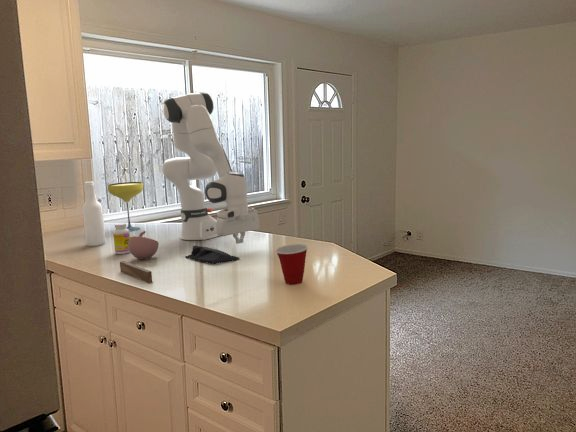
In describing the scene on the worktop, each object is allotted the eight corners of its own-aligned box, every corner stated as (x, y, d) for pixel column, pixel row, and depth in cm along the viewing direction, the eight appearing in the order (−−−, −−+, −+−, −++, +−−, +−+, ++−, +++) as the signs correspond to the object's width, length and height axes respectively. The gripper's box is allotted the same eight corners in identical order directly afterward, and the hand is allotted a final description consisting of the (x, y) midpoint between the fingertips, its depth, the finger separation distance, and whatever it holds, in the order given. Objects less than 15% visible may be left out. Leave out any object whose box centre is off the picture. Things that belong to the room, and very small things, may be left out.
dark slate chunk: (209, 268, 186) (208, 256, 185) (182, 258, 203) (181, 247, 202) (243, 260, 196) (242, 248, 195) (214, 251, 213) (214, 240, 212)
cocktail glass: (106, 230, 269) (101, 184, 264) (137, 225, 281) (133, 181, 276) (121, 234, 256) (116, 186, 251) (153, 228, 268) (148, 182, 263)
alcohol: (90, 247, 229) (82, 183, 224) (83, 244, 235) (76, 182, 230) (109, 244, 234) (102, 181, 229) (102, 241, 241) (95, 180, 236)
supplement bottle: (126, 254, 212) (123, 225, 210) (112, 254, 213) (109, 225, 211) (134, 250, 219) (131, 222, 216) (120, 250, 220) (117, 222, 218)
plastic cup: (275, 278, 168) (274, 244, 166) (307, 276, 169) (305, 242, 167) (277, 288, 158) (276, 252, 156) (311, 286, 159) (310, 250, 157)
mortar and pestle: (165, 255, 207) (162, 228, 205) (148, 263, 196) (145, 235, 194) (141, 254, 211) (138, 228, 209) (123, 261, 200) (120, 234, 198)
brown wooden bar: (124, 271, 186) (123, 260, 186) (152, 282, 170) (151, 271, 170) (120, 272, 185) (119, 261, 185) (148, 283, 169) (147, 272, 169)
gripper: (252, 206, 216) (254, 237, 218) (213, 213, 202) (215, 246, 204) (261, 208, 211) (263, 239, 213) (222, 214, 197) (224, 248, 200)
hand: (239, 243), depth 209 cm, fingers closed
